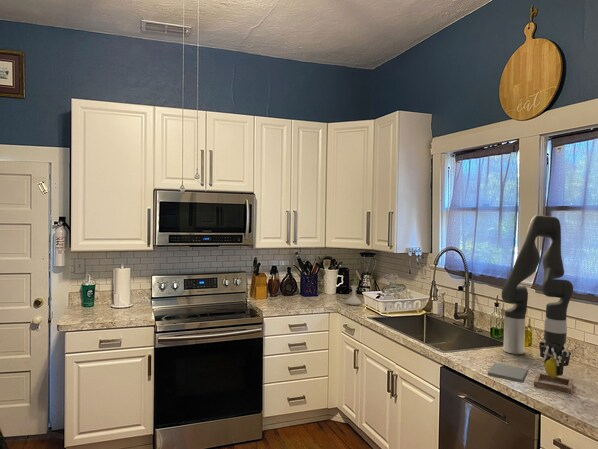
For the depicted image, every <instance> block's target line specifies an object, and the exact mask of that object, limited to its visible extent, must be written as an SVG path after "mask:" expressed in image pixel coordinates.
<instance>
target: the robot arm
mask: <svg viewBox="0 0 598 449" xmlns="http://www.w3.org/2000/svg"><path fill="white" fill-rule="evenodd" d="M561 226H562V225H561V222H560V219H559V218H557V217H556V216H550V215H541V214H537V215H534V216H533V217H532V218H531V220H530V222H529V225H528V228H527V232H526V234H525V237H524V241H523V244H522V246H521V248H520V250H519V253H518V254H517V257H516V259H515V263H514V265H513V267H512V270H511V272H510V274H509V276H508V277H507V280H506V282H505V283H504V285H503V287H502V289H501V299H502V301H503V302H505V303H508V304H514V305H513V306H512V307H510V308H507V309H506V310H504V325H503V326H504V327H503V345H502V346H503V349H502V350H503V351H504V352H506V353H509V354H514V355H522V354H525V340H526V339H525V335H526V332H525V331H526V314H527V310H528V309H527V308H528V300H529V299H528V298H529V293H528V288H527V287H526V285H524V284H521V283H522V282H523V281H525V280H526V279H528V278H530V277H531V276H532V275H533V274H535V272H536V270H537V269H538V267H539V264H540V261H541V256H540V252H539V250H538V248H537V245H536V240H537V237H541V238H549V239H550V244H549V246H548V248H547V249H546V250H545V252H543V255H542V266H543V280H542V285H541V291H542V293H543V295H544V296H545V297H549V298H559V299H558V301H555V302H548V303H546V307H545V321H544V328H543V330H544V332H543V340H544V341H539V354H540V357H541V358H543V362H544V363H543V364H544V365H543V368H545V363H546V361H547V360H549V359H552V358H554V359H555V360H556V363H557V368H556V375H558V376H557V377H563V376H564V367H569V365H570V359H571V355H572V354H571V351H570V350H569V351H567V350H566V349H565V347H564V346H565V345H566V342H567V331H568V330H567V329H568V328H567V327H568V326H567V325H568V324H567V312H568V311H567V310H568V306H569V304H570V302H571V301H570V300H571V298H572V296H573V292H574V285H573V284H572V282H571V281H570V280H567V279H560V278H562V277H563V276H564V275H565V267H564V263H563V258H562V228H561Z"/></svg>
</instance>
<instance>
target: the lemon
mask: <svg viewBox="0 0 598 449" xmlns="http://www.w3.org/2000/svg"><path fill="white" fill-rule="evenodd" d="M556 368H557V363H556V360H555V359H554V357H552V358H551V359H549V360H547V361H546V363H545V367H544V372H545V374H547V375H549V376H550V377H551V378H554V377H559V376H558V375H556Z"/></svg>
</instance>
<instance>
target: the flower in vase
mask: <svg viewBox="0 0 598 449" xmlns="http://www.w3.org/2000/svg"><path fill="white" fill-rule="evenodd" d="M355 273H356V276H355V279H354V281H353V282H352V284H353V285H350V287H351V290H352V291H351V292H352V293H351V296H350V297H349V298H347V299H346V300H345V303H346V304H347V305H349V306H359V305H361V304H362V301H361V299H360V298H358V297H357V296H356V290H357V288H358V285H355V284H357V281H356V279H358V280H359V281H361V280H362V278H361V275H360V274H359V272H358V270H355ZM357 277H358V278H357Z"/></svg>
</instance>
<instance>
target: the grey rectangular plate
mask: <svg viewBox="0 0 598 449" xmlns="http://www.w3.org/2000/svg"><path fill="white" fill-rule="evenodd" d="M528 370H529V369H528V368H524V367H521V366H520V367H519V366H514V365H510V364H505V363H504V364H503V363H500V362H494V363H493V365H492V366H490V369H489V370H488V371H487V375H488V376H492V377H496V378H502V379H507V380H512V381H515V382H520V383H523V382H524V379H525V377H526V375H527V373H528Z"/></svg>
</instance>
